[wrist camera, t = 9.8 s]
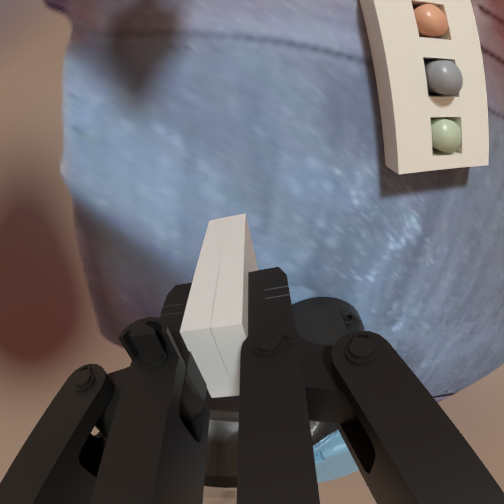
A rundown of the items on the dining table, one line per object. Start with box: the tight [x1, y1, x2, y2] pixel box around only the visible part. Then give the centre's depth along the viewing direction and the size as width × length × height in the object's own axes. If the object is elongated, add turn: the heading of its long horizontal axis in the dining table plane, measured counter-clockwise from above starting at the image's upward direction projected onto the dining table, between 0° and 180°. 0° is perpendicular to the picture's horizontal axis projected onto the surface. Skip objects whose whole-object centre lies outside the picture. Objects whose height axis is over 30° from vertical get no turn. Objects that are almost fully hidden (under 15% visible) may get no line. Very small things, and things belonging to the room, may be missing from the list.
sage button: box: [430, 117, 461, 153], centre depth 31 cm, size 4×4×4 cm
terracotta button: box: [413, 4, 448, 38], centre depth 25 cm, size 4×4×4 cm
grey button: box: [424, 60, 463, 95], centre depth 27 cm, size 4×4×4 cm
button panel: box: [360, 0, 489, 174], centre depth 28 cm, size 22×14×4 cm, turn 11°
